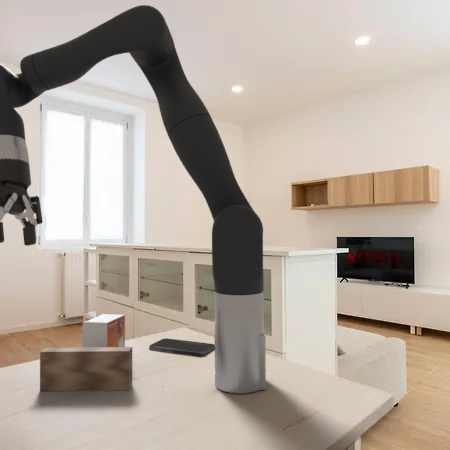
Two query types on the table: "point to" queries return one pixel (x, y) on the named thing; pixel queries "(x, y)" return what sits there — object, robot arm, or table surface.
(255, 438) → the table surface
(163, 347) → the phone
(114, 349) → the walnut board
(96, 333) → the small box
